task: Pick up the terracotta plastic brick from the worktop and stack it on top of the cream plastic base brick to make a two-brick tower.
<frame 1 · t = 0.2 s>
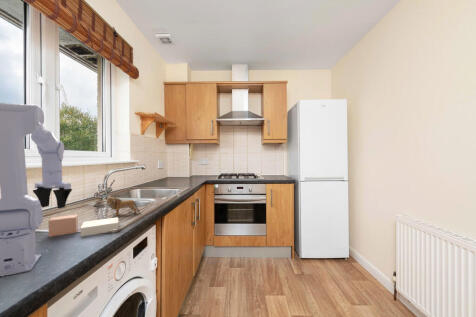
hand: (53, 207, 81), 10 cm above the countertop, tool pointing down, fingers open, 7 cm apart
cream base brick: (101, 230, 83), on the countertop
terracotta brick: (64, 232, 81), on the countertop
lion figurine: (122, 214, 105), on the countertop
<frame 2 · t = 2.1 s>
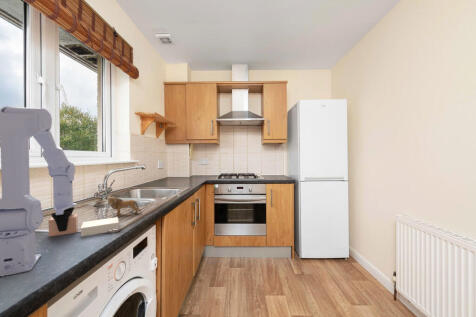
hand: (64, 228, 81), 1 cm above the countertop, tool pointing down, fingers closed on terracotta brick, 4 cm apart
terracotta brick: (64, 232, 81), on the countertop, touching gripper
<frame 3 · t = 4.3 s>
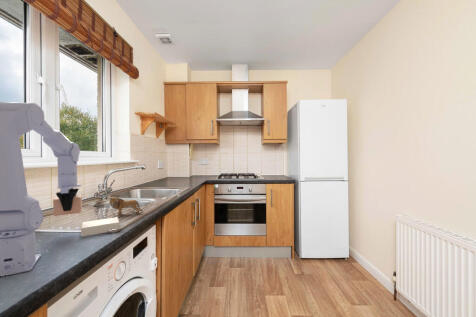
hand: (68, 209, 81), 9 cm above the countertop, tool pointing down, fingers closed on terracotta brick, 4 cm apart
terracotta brick: (68, 212, 81), point 7 cm above the countertop, touching gripper
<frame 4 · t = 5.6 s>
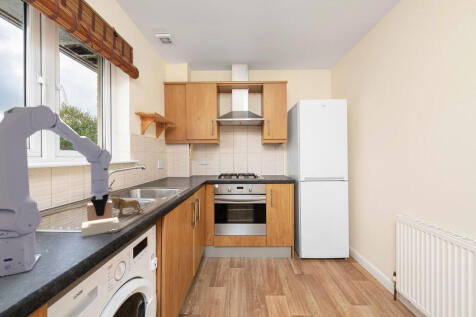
hand: (100, 214, 83), 6 cm above the countertop, tool pointing down, fingers closed on terracotta brick, 4 cm apart
terracotta brick: (100, 218, 83), point 5 cm above the countertop, touching gripper
when the fingers open (6 cm above the countertop, at t = 6.5 s): terracotta brick drops 1 cm, resting on cream base brick.
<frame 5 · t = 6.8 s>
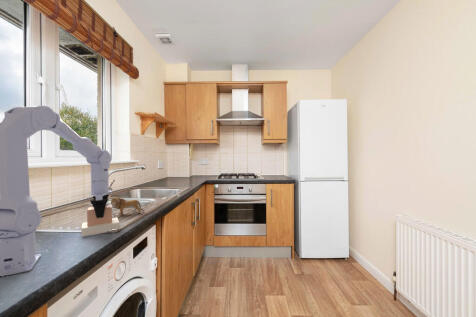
hand: (100, 215, 83), 6 cm above the countertop, tool pointing down, fingers open, 7 cm apart
cream base brick: (101, 231, 83), on the countertop, touching terracotta brick
terracotta brick: (100, 222, 83), point 3 cm above the countertop, touching cream base brick
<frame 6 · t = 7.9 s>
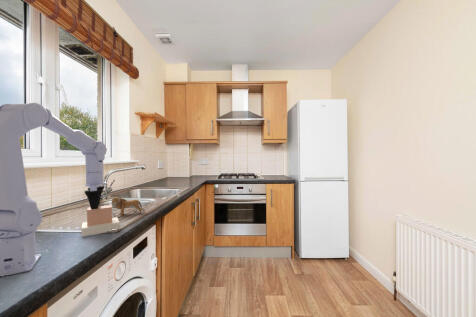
hand: (95, 206, 83), 9 cm above the countertop, tool pointing down, fingers open, 7 cm apart
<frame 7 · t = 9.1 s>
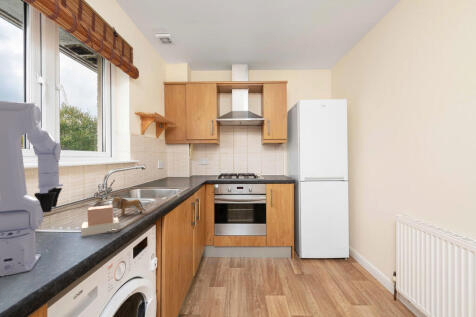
hand: (49, 209, 79), 9 cm above the countertop, tool pointing down, fingers open, 7 cm apart
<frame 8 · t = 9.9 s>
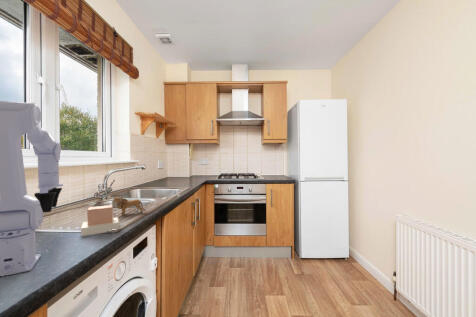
hand: (49, 209, 79), 9 cm above the countertop, tool pointing down, fingers open, 7 cm apart
at the end: terracotta brick 0.2 cm off-centre on the cream base brick, point 3.5 cm above the cream base brick's base; terracotta brick tilted 0°; the gripper is holding nothing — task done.
